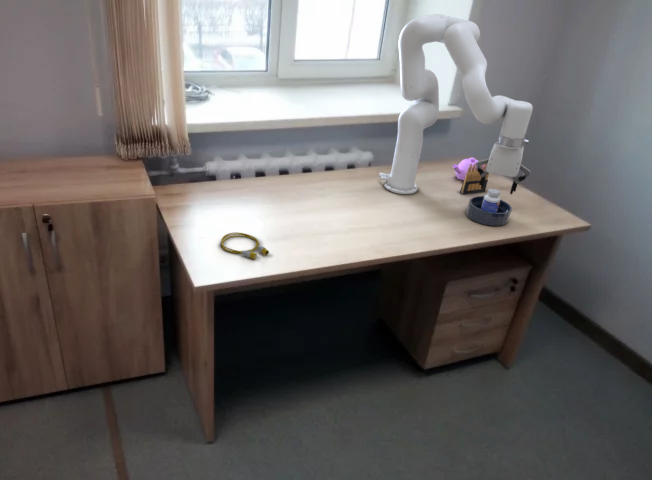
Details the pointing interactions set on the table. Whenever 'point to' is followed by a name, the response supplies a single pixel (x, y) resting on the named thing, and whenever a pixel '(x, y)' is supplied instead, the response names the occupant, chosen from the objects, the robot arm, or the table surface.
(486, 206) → the pill bottle
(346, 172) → the table surface
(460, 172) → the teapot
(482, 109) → the robot arm
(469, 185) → the ammunition clip
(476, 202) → the bowl
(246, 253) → the extension cord
